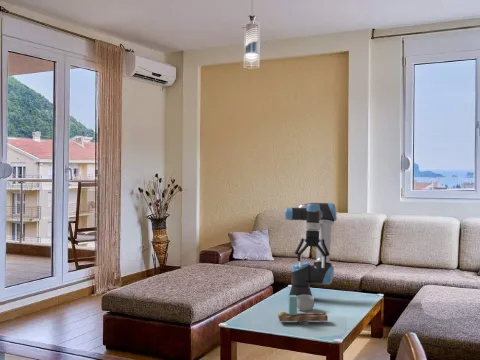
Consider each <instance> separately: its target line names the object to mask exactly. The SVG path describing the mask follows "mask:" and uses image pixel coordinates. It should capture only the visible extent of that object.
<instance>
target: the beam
mask: <svg viewBox="0 0 480 360" xmlns="http://www.w3.org/2000/svg"><path fill="white" fill-rule="evenodd" d="M328 317H329V316H328V315H327V313H326V312H297V315H292V316H290V315H289V312H285V311H279V312H278V317H277V318H278V320H279V322H297V324H298V325H299V326H303V325H304V326H306V325H307V326H309V322H328Z"/></svg>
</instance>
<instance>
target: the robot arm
mask: <svg viewBox="0 0 480 360" xmlns="http://www.w3.org/2000/svg"><path fill="white" fill-rule="evenodd" d="M336 208H337V207H336V204H335V203H331V202H330V203H329V202H309V203H304V204H300V205H299V206H297V207H286V208H285V210H284V216H285V219H286V220H287V221H306V225H305V230H306V231H305V238H303V237H302V238H300V239H299V244H298V245H297V246H296V249H295V251H294V255H297V261H298V262H296V263H293V264H292V265H291V287H290V290H289V294H288V296H289V295H296V296H298V295H311V296H313V294H312V290H311V287H310V284H314V285H315V284H316V285H330V284H332V282H333V278H334V271H335V268H334V266H333V265H332V262H331V261H330V259H331V258H330V257H331V239H332V226H333V225H334V224H335V222H336V221H337V220H338V218H337V209H336ZM304 243H305V244H304ZM303 244H304V246H303ZM302 246H303V247H302ZM308 247H314V248H315V247H316V255H315V260H314V261H313V264H310V262H309V261H308V262H307V261H306V262H305V261H303V259H302V258H303V256H302V254H303V253H304V252H305V251H306V250H307V248H308Z"/></svg>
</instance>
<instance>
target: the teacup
mask: <svg viewBox="0 0 480 360" xmlns="http://www.w3.org/2000/svg"><path fill="white" fill-rule="evenodd" d="M314 306H315V297H314V296H313V295H312V296H311V295H298V296H297V310H298V309H299V311H301V312H310V311H312V310H313V309H314V308H315V307H314Z"/></svg>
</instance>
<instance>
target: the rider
mask: <svg viewBox="0 0 480 360" xmlns="http://www.w3.org/2000/svg"><path fill="white" fill-rule="evenodd" d="M288 313H289V315H290V316H292V315H297V313H298V308H297V296H296V295H289V294H288Z"/></svg>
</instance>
